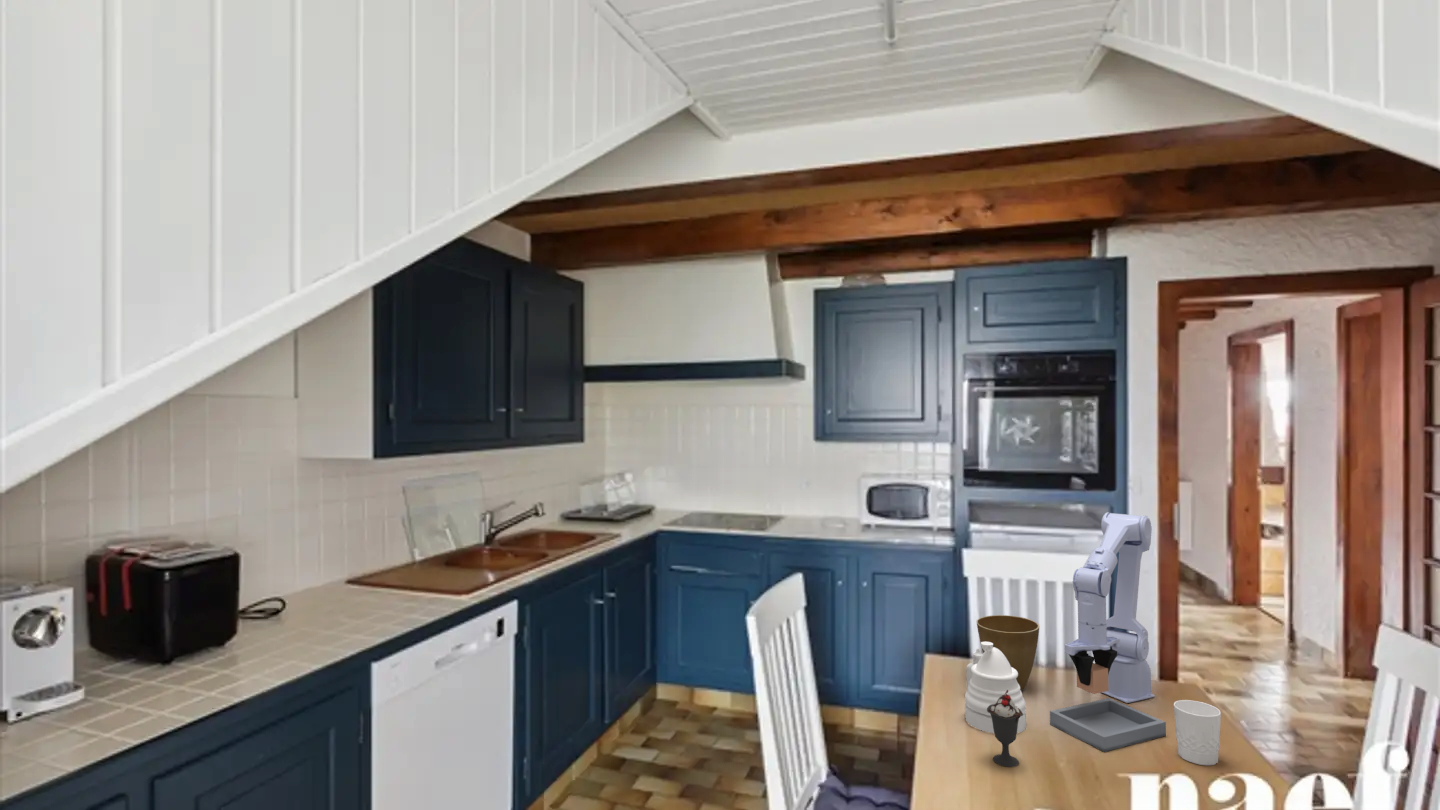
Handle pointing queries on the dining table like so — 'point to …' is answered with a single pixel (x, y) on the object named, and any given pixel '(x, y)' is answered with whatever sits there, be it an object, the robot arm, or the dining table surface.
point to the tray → (1107, 724)
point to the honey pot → (992, 689)
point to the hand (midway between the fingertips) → (1093, 682)
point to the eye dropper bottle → (975, 660)
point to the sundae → (1005, 727)
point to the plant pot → (1012, 641)
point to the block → (1096, 680)
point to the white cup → (1197, 731)
